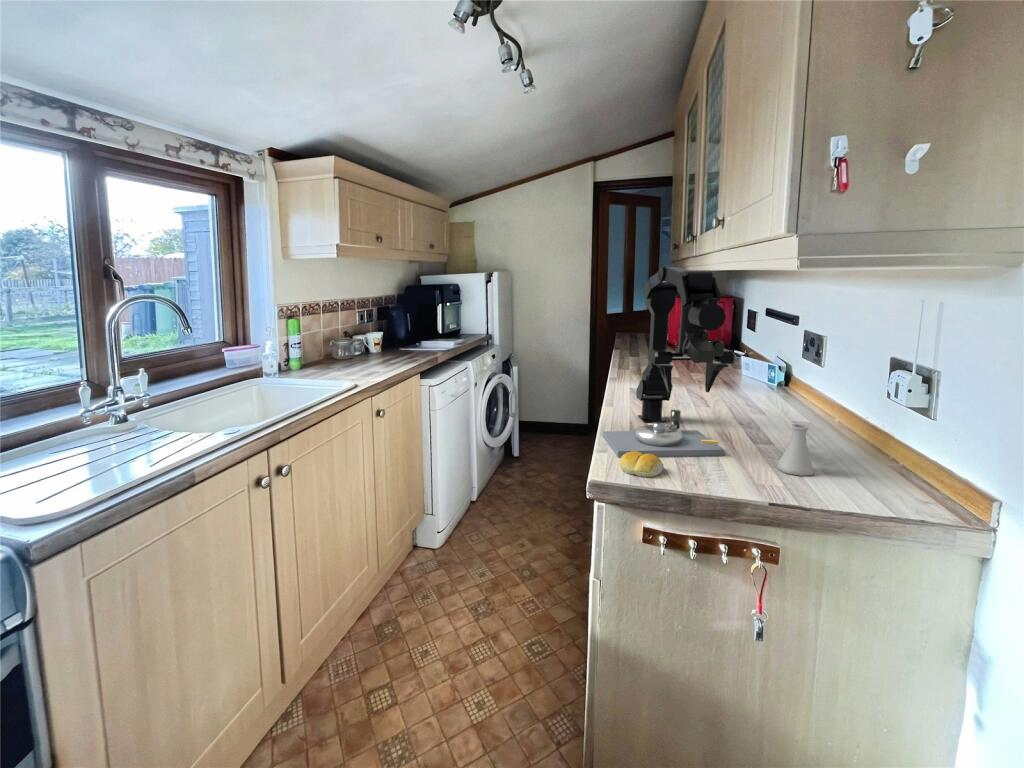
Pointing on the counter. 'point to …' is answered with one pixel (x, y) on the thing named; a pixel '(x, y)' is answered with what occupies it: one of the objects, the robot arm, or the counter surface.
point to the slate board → (689, 446)
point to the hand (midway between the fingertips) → (688, 392)
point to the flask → (797, 454)
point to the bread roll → (641, 464)
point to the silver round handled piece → (661, 432)
